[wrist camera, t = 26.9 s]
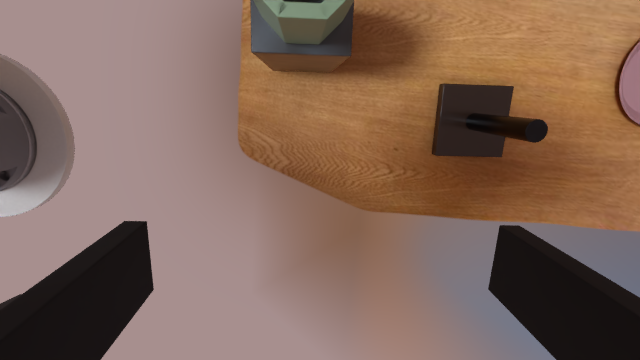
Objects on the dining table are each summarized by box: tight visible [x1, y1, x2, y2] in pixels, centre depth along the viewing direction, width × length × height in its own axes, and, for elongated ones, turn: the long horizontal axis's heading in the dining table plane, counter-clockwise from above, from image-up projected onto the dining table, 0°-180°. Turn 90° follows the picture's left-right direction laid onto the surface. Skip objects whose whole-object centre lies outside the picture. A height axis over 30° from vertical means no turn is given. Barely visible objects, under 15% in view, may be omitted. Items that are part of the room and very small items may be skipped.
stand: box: [251, 0, 354, 73], centre depth 35 cm, size 8×8×20 cm
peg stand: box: [432, 84, 548, 157], centre depth 41 cm, size 10×10×14 cm
